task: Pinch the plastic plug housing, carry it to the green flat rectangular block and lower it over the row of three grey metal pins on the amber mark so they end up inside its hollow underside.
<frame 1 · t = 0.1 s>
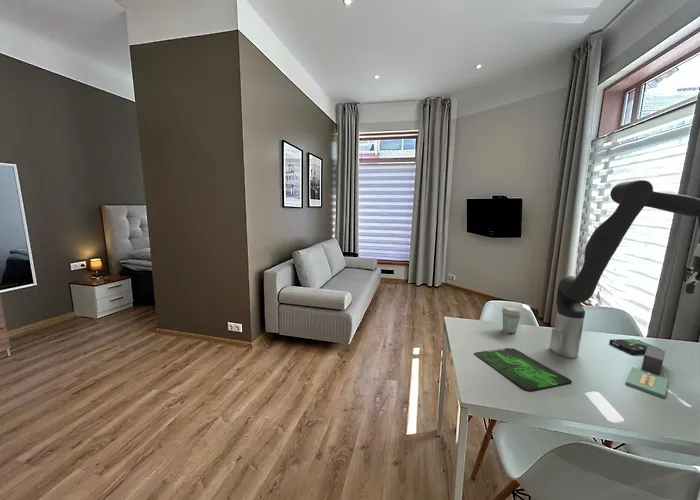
disk drive: (634, 350, 132), on the table
green flat rectangular block: (646, 382, 105), on the table
coffee cup: (509, 331, 146), on the table
plug housing: (652, 366, 116), on the table
mouse mat: (518, 368, 113), on the table
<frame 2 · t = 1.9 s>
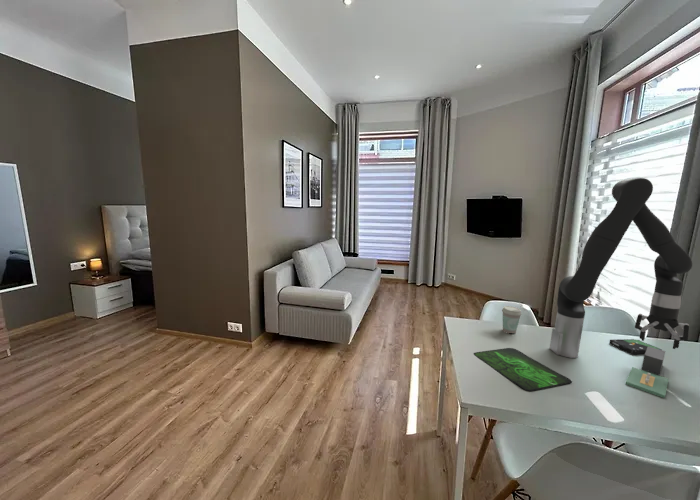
hand: (658, 344, 115), 10 cm above the table, tool pointing down, fingers open, 8 cm apart
nothing on the table moved.
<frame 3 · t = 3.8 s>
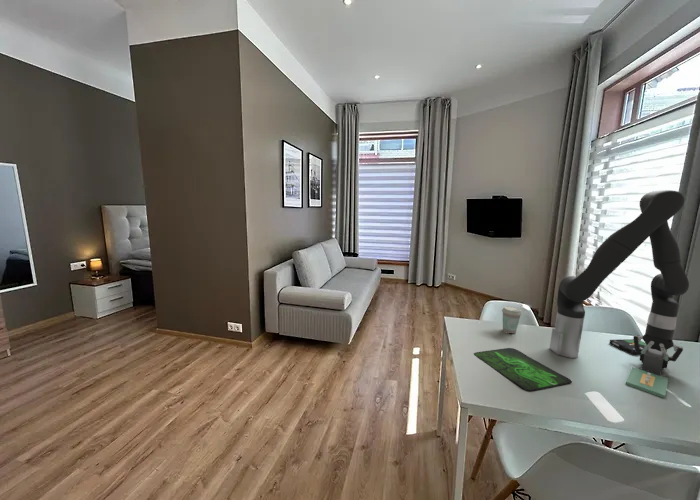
hand: (652, 365, 116), 1 cm above the table, tool pointing down, fingers closed on plug housing, 5 cm apart
plug housing: (652, 367, 116), on the table, touching gripper
everything else where it was.
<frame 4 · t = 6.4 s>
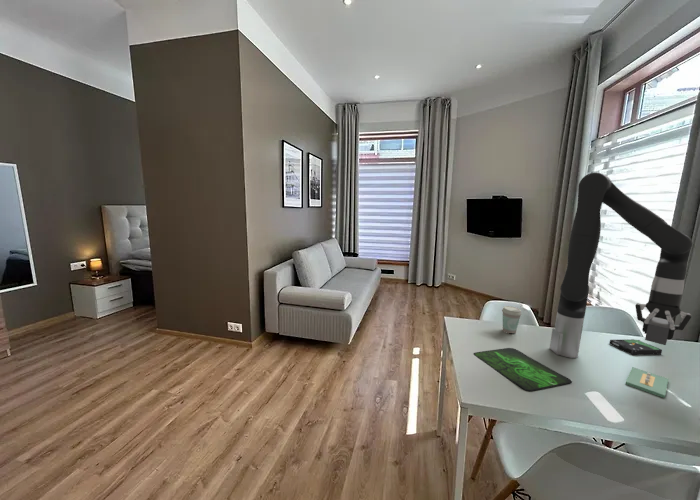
hand: (656, 335, 104), 17 cm above the table, tool pointing down, fingers closed on plug housing, 5 cm apart
plug housing: (656, 337, 104), point 16 cm above the table, touching gripper
everything else where it was.
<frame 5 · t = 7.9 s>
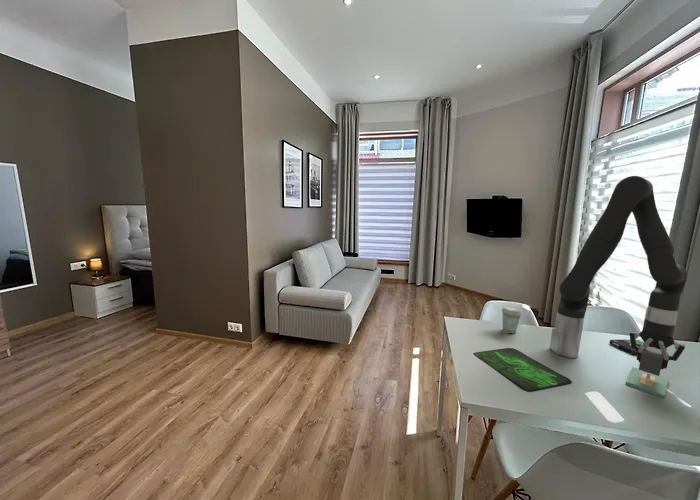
hand: (651, 365, 104), 7 cm above the table, tool pointing down, fingers closed on plug housing, 5 cm apart
plug housing: (650, 367, 104), point 6 cm above the table, touching gripper
everything else where it was.
when the fingers open (3 cm above the table, at t = 9.1 s): plug housing drops 1 cm, resting on green flat rectangular block.
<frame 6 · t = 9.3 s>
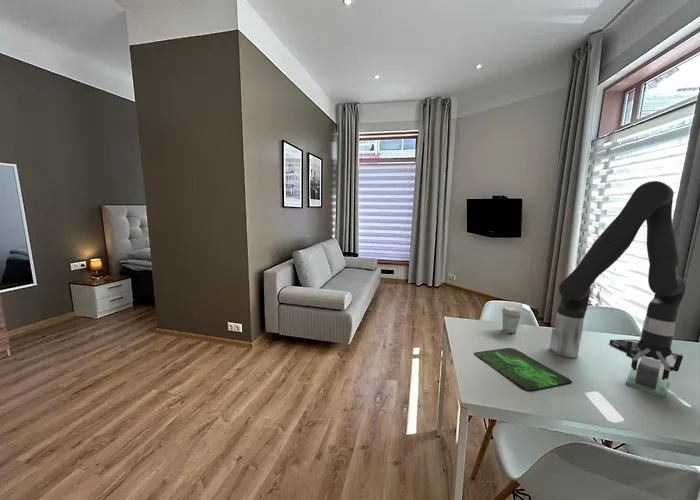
hand: (648, 374, 105), 3 cm above the table, tool pointing down, fingers open, 6 cm apart
plug housing: (647, 379, 105), point 1 cm above the table, touching green flat rectangular block
everything else where it was.
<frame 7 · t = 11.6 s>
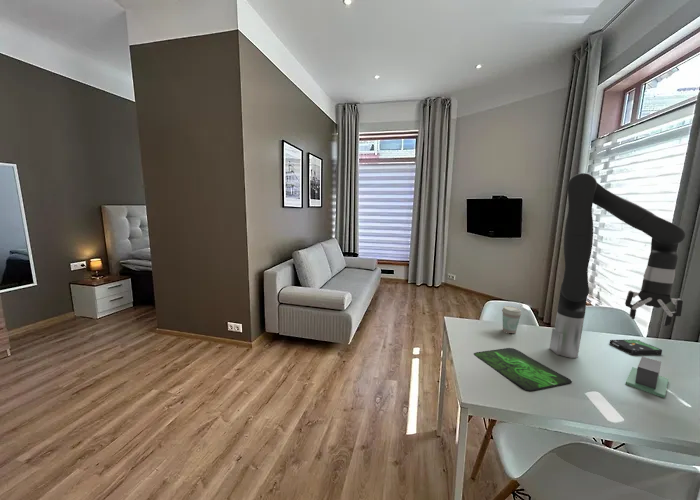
hand: (648, 321, 108), 21 cm above the table, tool pointing down, fingers open, 8 cm apart
nothing on the table moved.
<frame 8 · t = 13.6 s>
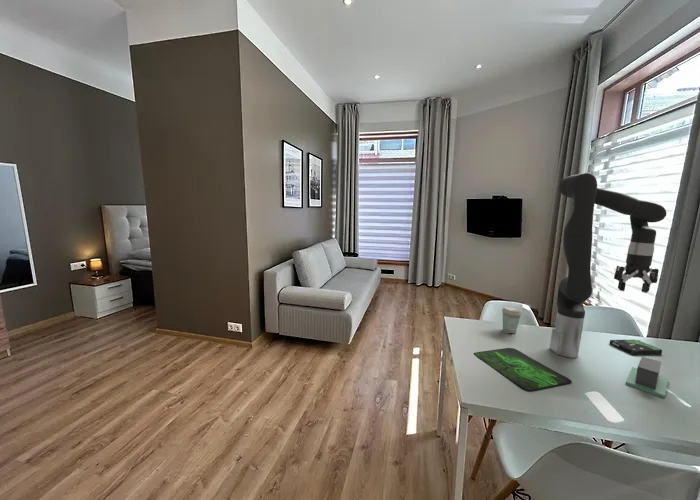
hand: (632, 291, 122), 28 cm above the table, tool pointing down, fingers open, 8 cm apart
nothing on the table moved.
at the end: plug housing 0.1 cm off-centre on the green flat rectangular block, point 1.1 cm above the green flat rectangular block's base; plug housing tilted 1°; the gripper is holding nothing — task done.
